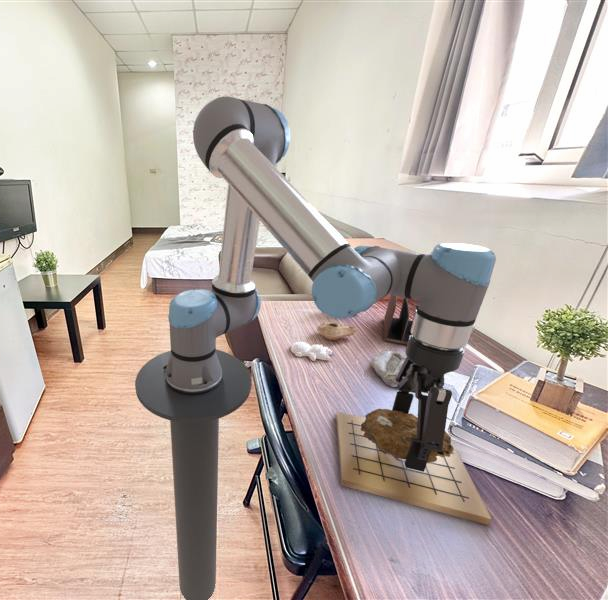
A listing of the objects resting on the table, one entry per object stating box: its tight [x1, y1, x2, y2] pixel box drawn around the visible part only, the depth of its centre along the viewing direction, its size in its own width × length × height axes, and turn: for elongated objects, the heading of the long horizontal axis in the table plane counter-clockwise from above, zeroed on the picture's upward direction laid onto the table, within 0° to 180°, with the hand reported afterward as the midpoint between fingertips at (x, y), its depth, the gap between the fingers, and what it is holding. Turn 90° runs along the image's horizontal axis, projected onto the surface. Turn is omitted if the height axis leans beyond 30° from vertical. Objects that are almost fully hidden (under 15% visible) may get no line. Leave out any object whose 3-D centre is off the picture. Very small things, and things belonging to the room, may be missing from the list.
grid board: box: [335, 411, 493, 526], centre depth 60 cm, size 22×18×2 cm
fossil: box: [370, 349, 407, 388], centre depth 88 cm, size 18×10×3 cm, turn 139°
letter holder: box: [383, 295, 418, 346], centre depth 108 cm, size 10×20×14 cm, turn 152°
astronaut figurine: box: [290, 341, 333, 362], centre depth 97 cm, size 9×12×3 cm
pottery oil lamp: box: [317, 321, 357, 341], centre depth 105 cm, size 9×12×7 cm
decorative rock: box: [361, 408, 454, 463], centre depth 58 cm, size 11×4×15 cm
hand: (405, 441), depth 59 cm, fingers closed on decorative rock, 11 cm apart
